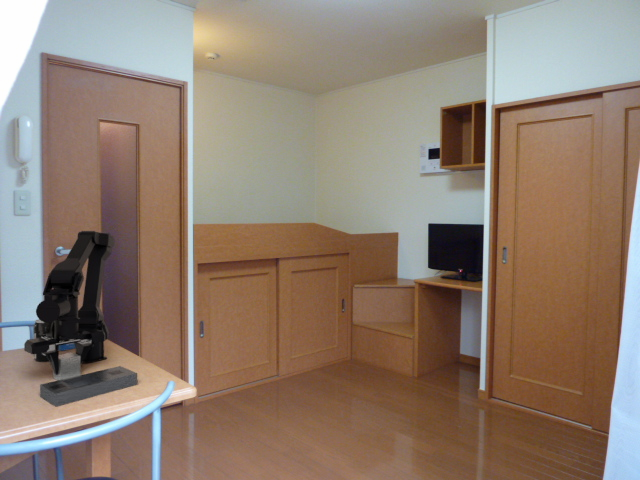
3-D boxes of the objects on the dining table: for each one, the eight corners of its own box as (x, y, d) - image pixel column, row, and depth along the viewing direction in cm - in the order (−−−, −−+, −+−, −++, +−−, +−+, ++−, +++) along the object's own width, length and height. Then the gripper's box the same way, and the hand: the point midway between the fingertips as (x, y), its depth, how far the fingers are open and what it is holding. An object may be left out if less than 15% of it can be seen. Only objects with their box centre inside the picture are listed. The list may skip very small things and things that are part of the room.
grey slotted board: (120, 376, 132) (120, 365, 132) (137, 384, 126) (137, 373, 126) (40, 396, 117) (40, 384, 117) (55, 406, 111) (55, 393, 111)
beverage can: (63, 357, 149) (63, 318, 148) (45, 363, 143) (44, 323, 142) (47, 355, 151) (47, 317, 151) (28, 361, 145) (28, 321, 144)
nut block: (72, 373, 134) (72, 352, 134) (80, 377, 131) (80, 355, 130) (53, 378, 130) (52, 356, 130) (61, 382, 127) (60, 359, 127)
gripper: (88, 306, 142) (88, 359, 143) (16, 315, 128) (17, 374, 128) (106, 311, 135) (106, 366, 135) (32, 321, 121) (33, 383, 121)
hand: (66, 372), depth 130 cm, fingers closed on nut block, 5 cm apart
